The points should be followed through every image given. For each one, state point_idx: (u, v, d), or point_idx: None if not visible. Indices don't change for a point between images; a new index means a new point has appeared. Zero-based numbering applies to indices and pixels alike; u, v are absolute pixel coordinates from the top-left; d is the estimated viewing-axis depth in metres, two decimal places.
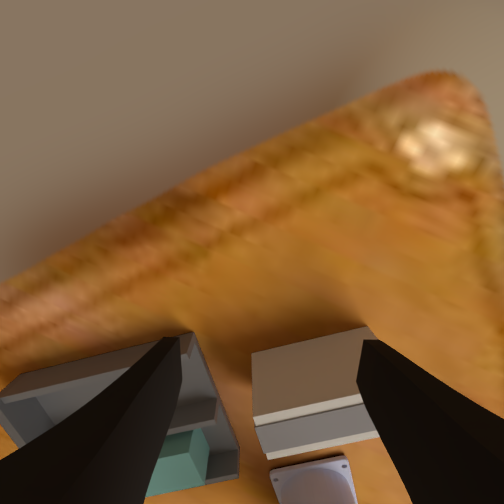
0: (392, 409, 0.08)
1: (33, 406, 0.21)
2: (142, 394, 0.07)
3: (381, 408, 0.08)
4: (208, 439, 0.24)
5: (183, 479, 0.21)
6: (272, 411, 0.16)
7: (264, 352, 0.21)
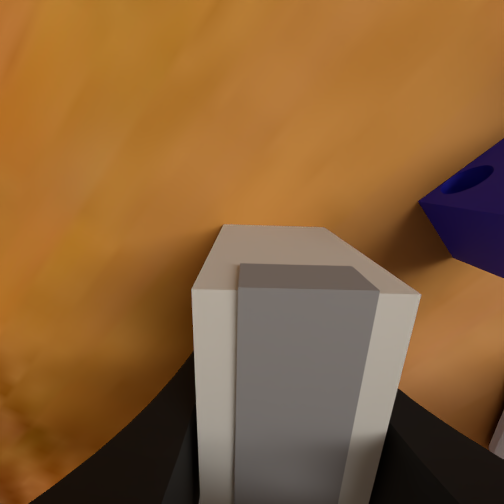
0: None
1: None
2: None
3: None
4: None
5: None
6: None
7: None
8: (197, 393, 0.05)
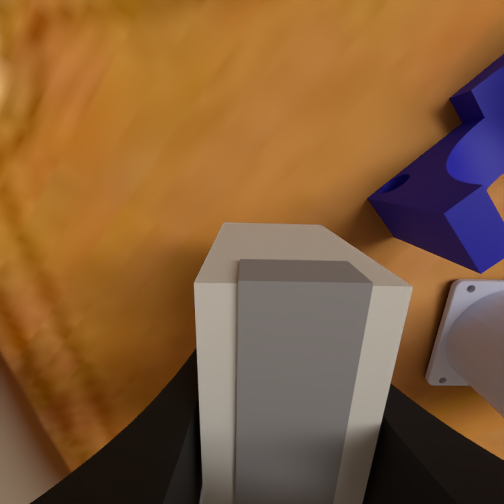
0: None
1: None
2: None
3: None
4: None
5: None
6: None
7: None
8: (199, 383, 0.05)
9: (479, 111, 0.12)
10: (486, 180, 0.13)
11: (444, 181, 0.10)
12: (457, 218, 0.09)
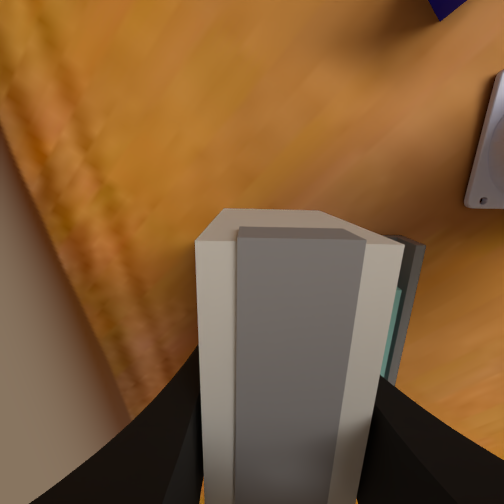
0: None
1: None
2: (200, 394, 0.07)
3: None
4: None
5: None
6: None
7: None
8: (200, 344, 0.05)
9: None
10: None
11: None
12: None
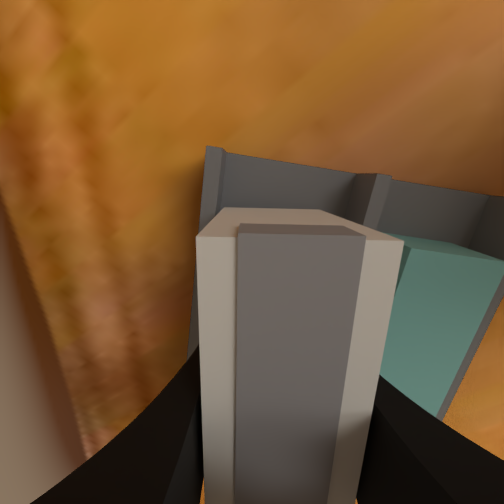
0: None
1: None
2: (200, 394, 0.07)
3: None
4: (432, 236, 0.13)
5: (466, 291, 0.10)
6: None
7: None
8: (200, 340, 0.05)
9: None
10: None
11: None
12: None
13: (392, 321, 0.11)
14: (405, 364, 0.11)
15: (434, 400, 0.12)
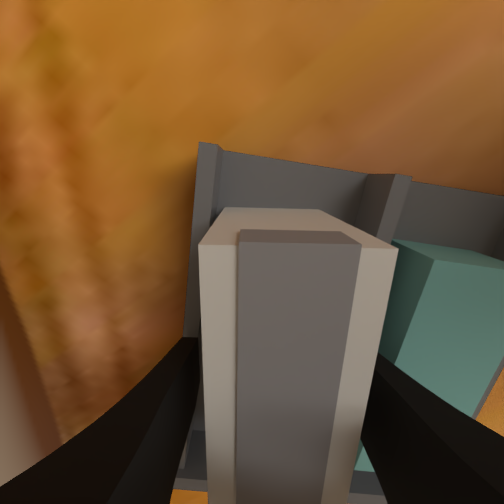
0: (370, 409, 0.08)
1: None
2: (169, 394, 0.07)
3: None
4: (452, 243, 0.11)
5: (496, 308, 0.09)
6: None
7: None
8: (203, 342, 0.06)
9: None
10: None
11: None
12: None
13: (410, 342, 0.09)
14: None
15: None
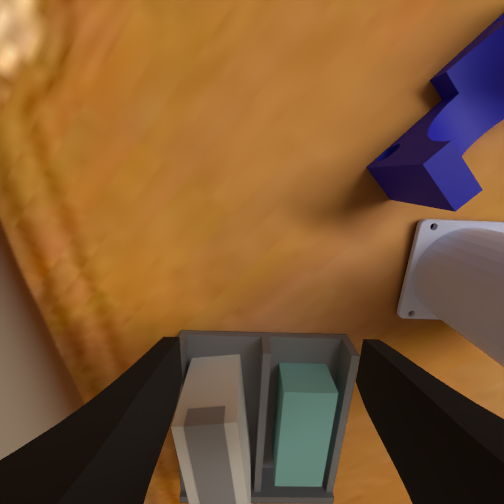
0: (392, 409, 0.08)
1: None
2: (142, 394, 0.07)
3: (381, 408, 0.08)
4: (314, 361, 0.21)
5: (320, 408, 0.19)
6: None
7: None
8: (177, 454, 0.16)
9: (454, 88, 0.15)
10: (463, 145, 0.16)
11: (425, 143, 0.13)
12: (433, 167, 0.12)
13: (284, 425, 0.19)
14: (298, 444, 0.20)
15: (321, 461, 0.20)
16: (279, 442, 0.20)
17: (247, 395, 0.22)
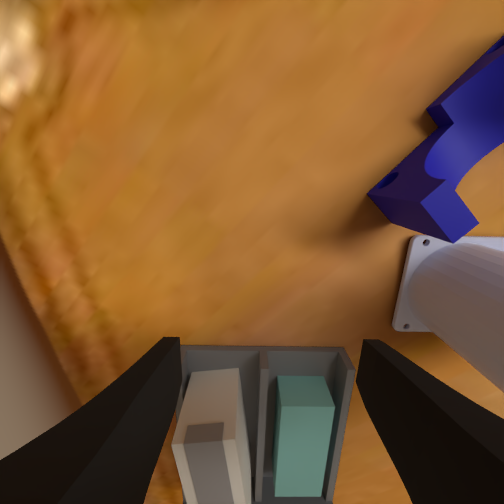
0: (392, 409, 0.08)
1: None
2: (142, 394, 0.07)
3: (381, 408, 0.08)
4: (312, 374, 0.22)
5: (317, 421, 0.19)
6: None
7: None
8: (178, 469, 0.16)
9: (449, 118, 0.15)
10: (460, 171, 0.16)
11: (422, 177, 0.14)
12: (430, 204, 0.12)
13: (282, 438, 0.20)
14: (296, 456, 0.20)
15: (319, 472, 0.21)
16: (278, 454, 0.20)
17: (247, 407, 0.23)
